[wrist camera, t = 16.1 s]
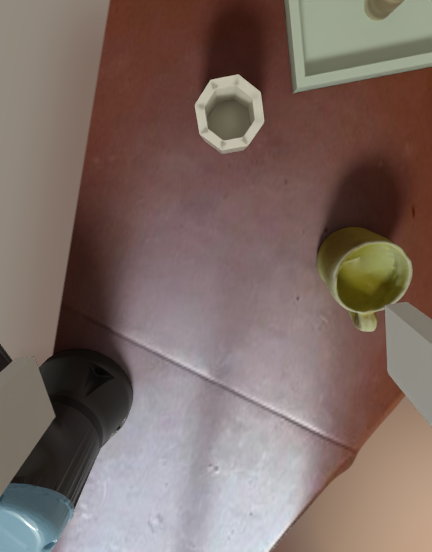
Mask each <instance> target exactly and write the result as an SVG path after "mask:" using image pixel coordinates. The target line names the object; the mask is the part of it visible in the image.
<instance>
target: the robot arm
mask: <svg viewBox="0 0 432 552" xmlns="http://www.w3.org/2000/svg"><path fill="white" fill-rule="evenodd" d="M385 318H386V345H387V372H388V374H389V375H390V376H391V378H392V379H393V380H394V381H395V383H396V384H397V385H398V386H399V388H400V389H401V390H402V391H403V392H404V394H405V395H406V396H407V397H408V399H409V400H410V401H411V402H412V404H413V405H414V406H415V407H416V408H417V410H418V411H419V412H420V414H421V415H422V416H423V417H424V419H425V420H426V421H427V422H428V424H429V425H430V426H431V427H432V319H430V318H429V317H427V316H426V315H425V314H423V313H422V312H420V311H419V310H418V309H416V308H415V307H414V306H412V305H411V304H409V303H408V302H403V303H396V304H389V305H385ZM132 401H133V393H132V387H131V384H130V381H129V379H128V377H127V376H126V374H125V373H124V371H123V370H122V369H121V368H120V367H119V366H118V365H117V364H116V363H115V362H114V361H112V360H111V359H109V358H108V357H106V356H104V355H102V354H100V353H97V352H94V351H90V350H85V349H71V350H65V351H62V352H59V353H57V354H55V355H53V356H51V357H50V358H48V359H47V360H46V361H45V362H44V363H43V364H42V365H41V366H40V367H39V368H38V366H37V363H36V360H35V357H34V356H32V357H25V358H18V359H15V360H13V361H12V359H11V358H10V357H9V355H8V354H7V352H6V351H5V350H4V348H3V347H2V346H1V344H0V552H50V551H51V550H52V549H53V548H54V546H55V545H56V543H57V542H58V540H59V538H60V536H61V534H62V532H63V530H64V528H65V527H66V525H67V523H68V522H69V521H70V519H71V518H72V516H73V512H74V509H75V506H76V504H77V502H78V499H79V497H80V495H81V492H82V490H83V488H84V485H85V483H86V481H87V478H88V476H89V474H90V471H91V469H92V467H93V464H94V462H95V460H96V458H97V455H98V453H99V451H100V449H101V447H102V446H103V445H104V444H105V443H106V442H107V441H108V440H109V439H110V437H112V436H113V435H114V434H116V433H117V432H118V431H119V430H120V428H121V427H122V426H123V424H124V423H125V421H126V419H127V417H128V414H129V412H130V409H131V406H132Z"/></svg>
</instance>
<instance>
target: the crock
mask: <svg viewBox="0 0 432 552" xmlns="http://www.w3.org/2000/svg"><path fill="white" fill-rule="evenodd" d="M195 110H196V116H197V121H198V127H199V133H200V135H201V137H202V138H203V139H204V141H205V142H207V143H208V144H209V145H211V146H212V147H213V148H215V149H216V150H217V151H219V152H220V153H221V154H225V153H231V152H236V151H242V150H244V149H245V148H246V147H247V146H248V145H249V144H250V142H251V141H252V139H253V138H254V136H255V135H256V133H257V132H258V130H259V129H260V128H261V126H262V125H263V123H264V115H263V107H262V98H261V92H260V91H259V90H257V89H256V88H255V87H254V86H252V85H251V84H250V83H249V82H247V81H246V80H245V79H244V78H242V77H241V76H240V75H239V74H237V75H232V76H227V77H222V78H217V79H212V80H210V81H209V83H208V85H207V86H206V88H205V89H204V91H203V92H202V94H201V96H200V97H199V99H198V100H197V102H196V104H195Z"/></svg>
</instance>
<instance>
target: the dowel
mask: <svg viewBox="0 0 432 552" xmlns="http://www.w3.org/2000/svg"><path fill="white" fill-rule="evenodd" d="M403 1H404V0H365V2H364V10H365V13H366V15H367V16H368V17H369V18H370V19H371V20H374V21H380V20H383V19H385V18H386V17H387V16H388V15H389V14H391V13H392V12H393V11H394V10H395V9H396V8H397V7H398V6H399V5H400V4H401V3H402V2H403Z"/></svg>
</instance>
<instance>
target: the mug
mask: <svg viewBox="0 0 432 552" xmlns="http://www.w3.org/2000/svg"><path fill="white" fill-rule="evenodd" d="M317 268H318V272H319V275H320V277H321V278H322V279H323V280H324V281H325V282H326V284H327V286H328V288H329V290H330V292H331V294H332V296H333V297H334V298H335V300H336V301H337V302H338V303H339V304H340V305H341V306H342V307H343V308H345V309H347V310H348V312H349V315H350V317H351V319H352V322H353V324H354V326H355V327H356V328H357V329H359V330H361V331H374V330H375V328H376V326H377V319H378V318H377V316H376V313H375V312H376V311H380V310H384V309H385V305H389V304H394V303H396V302H397V301H398V300H400V299H401V297H402V296H403V295H404V294H405V292H406V291H407V289H408V287H409V284H410V282H411V279H412V274H413V267H412V263H411V260H410V258H409V257H408V255H407V254H406V253H405V252H404V251H403V249H402V248H401V247H399V246H398V245H396V244H395V243H393V242H392V241H391V240H389V239H387V238H385V237H383V236H381V235H378V234H376V233H374V232H372V231H369V230H367V229H365V228H361V227H347V228H342V229H340V230H338V231H335V232H334V233H332V234H331V235H329V236H328V237H327V238H326V239H325V240H324V242H323V243H322V245H321V246H320V249H319V252H318V256H317Z"/></svg>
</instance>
